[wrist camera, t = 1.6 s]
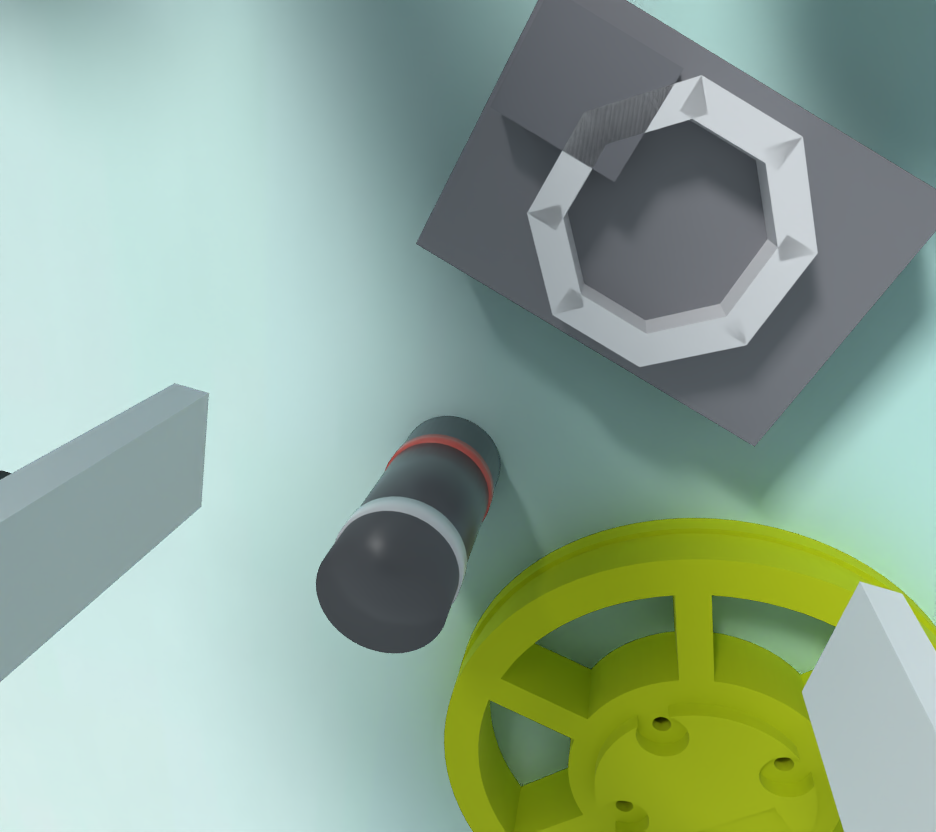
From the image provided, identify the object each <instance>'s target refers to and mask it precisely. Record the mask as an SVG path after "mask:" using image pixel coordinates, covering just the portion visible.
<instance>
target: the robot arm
mask: <svg viewBox="0 0 936 832" xmlns="http://www.w3.org/2000/svg"><path fill="white" fill-rule="evenodd" d="M208 397H209V393H206V392H203V391H199V390H196V389H192V388H189V387H186V386H182V385H179V384H175V383H174V384H173V385H171V386H169V387H167V388H165V389H164V390H162V391H160V392H158V393H156V394H155V395H153V396H151V397H149V398H147V399H146V400H144V401H142V402H140V403H138V404H136V405H135V406H133V407H131V408H129V409H127V410H126V411H124V412H122V413H120V414H118V415H117V416H115V417H113V418H111V419H109V420H108V421H106V422H104V423H102V424H100V425H98V426H97V427H95V428H93V429H91V430H89V431H88V432H86V433H84V434H82V435H80V436H79V437H77V438H75V439H73V440H71V441H70V442H68V443H66V444H64V445H62V446H61V447H59V448H57V449H55V450H53V451H51V452H50V453H48V454H46V455H44V456H42V457H41V458H39V459H37V460H35V461H33V462H32V463H30V464H28V465H26V466H24V467H23V468H21V469H19V470H17V471H15V472H13V473H8V472H5V471H0V682H1V681H2V680H3V679H4V678H5V677H6V676H8V675H9V674H10V673H11V672H12V671H13V670H14V669H16V668H17V667H18V666H19V665H20V664H21V663H23V662H24V661H25V660H26V659H27V658H28V657H29V656H31V655H32V654H33V653H34V652H35V651H36V650H37V649H39V648H40V647H41V646H42V645H43V644H44V643H45V642H47V641H48V640H49V639H50V638H51V637H52V636H53V635H55V634H56V633H57V632H58V631H59V630H60V629H61V628H63V627H64V626H65V625H66V624H67V623H68V622H69V621H71V620H72V619H73V618H74V617H75V616H76V615H78V614H79V613H80V612H81V611H82V610H83V609H84V608H86V607H87V606H88V605H89V604H90V603H91V602H92V601H94V600H95V599H96V598H97V597H98V596H99V595H100V594H102V593H103V592H104V591H105V590H106V589H107V588H108V587H110V586H111V585H112V584H113V583H114V582H115V581H116V580H118V579H119V578H120V577H121V576H122V575H123V574H124V573H126V572H127V571H128V570H129V569H130V568H131V567H133V566H134V565H135V564H136V563H137V562H138V561H139V560H141V559H142V558H143V557H144V556H145V555H146V554H147V553H149V552H150V551H151V550H152V549H153V548H154V547H155V546H157V545H158V544H159V543H160V542H161V541H162V540H163V539H165V538H166V537H167V536H168V535H169V534H170V533H171V532H173V531H174V530H175V529H176V528H177V527H178V526H179V525H181V524H182V523H183V522H184V521H185V520H186V519H188V518H189V517H190V516H191V515H192V514H193V513H194V512H196V511H197V510H198V509H199V508H200V507H201V502H202V487H203V472H204V457H205V442H206V427H207V412H208ZM802 694H803V698H804V701H805V704H806V708H807V711H808V714H809V718H810V721H811V724H812V727H813V731H814V734H815V737H816V741H817V744H818V747H819V751H820V754H821V757H822V761H823V764H824V767H825V770H826V774H827V777H828V780H829V784H830V787H831V790H832V794H833V797H834V800H835V804H836V807H837V810H838V813H839V817H840V820H841V823H842V827H843V830H844V832H936V651H935V649H934V647H933V646H932V644H931V642H930V640H929V639H928V637H927V635H926V634H925V632H924V630H923V628H922V627H921V625H920V623H919V622H918V620H917V618H916V616H915V615H914V613H913V611H912V610H911V608H910V606H909V604H908V603H907V601H906V599H905V598H904V596H903V594H902V593H898V592H895V591H891V590H888V589H884V588H881V587H877V586H874V585H870V584H867V583H864V582H859V584H858V586H857V588H856V590H855V591H854V593H853V595H852V597H851V599H850V601H849V603H848V605H847V607H846V609H845V610H844V612H843V614H842V616H841V618H840V620H839V622H838V624H837V626H836V628H835V630H834V631H833V633H832V635H831V637H830V639H829V641H828V643H827V645H826V647H825V649H824V650H823V652H822V654H821V656H820V658H819V660H818V662H817V664H816V666H815V668H814V669H813V671H812V673H811V675H810V677H809V679H808V681H807V683H806V685H805V687H804V689H803V690H802Z"/></svg>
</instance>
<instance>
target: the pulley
mask: <svg viewBox="0 0 936 832" xmlns="http://www.w3.org/2000/svg"><path fill="white" fill-rule="evenodd" d="M859 582H864V583H867V584H870V585H874V586H877V587H881V588H884V589H888V590H891V591H895V592H898V593H902V594H903V596H904V598H905V599H906V601H907V603H908V604H909V606H910V608H911V610H912V611H913V613H914V615H915V616H916V618H917V620H918V622H919V623H920V625H921V627H922V628H923V630H924V632H925V634H926V635H927V637H928V639H929V640H930V642H931V644H932V646H933V647H934V649H935V651H936V626H935V625H934V624H933V623H932V621H931V620H930V619H929V618H928V616H927V615H926V614H925V613H924V612H923V611H922V610H921V609H920V608H919V607H918V606H917V604H916V603H915V602H914V601H913V600H912V599H910V598H909V597H908V596H907V595H906V594H905V593H904V592H903V591H902V590H900V589H899V588H898V587H897V586H896V585H894V584H893V583H892V582H890V581H889V580H888V579H887V578H885V577H884V576H882V575H881V574H879V573H878V572H876V571H875V570H873V569H872V568H870V567H869V566H867V565H866V564H864V563H862V562H860V561H859V560H857V559H855V558H853V557H852V556H850V555H848V554H846V553H843V552H841V551H839V550H837V549H835V548H833V547H831V546H828V545H826V544H824V543H821V542H819V541H816V540H814V539H811V538H808V537H805V536H802V535H799V534H796V533H793V532H789V531H785V530H782V529H778V528H774V527H769V526H765V525H760V524H755V523H749V522H742V521H735V520H724V519H710V518H675V519H663V520H653V521H647V522H640V523H634V524H629V525H624V526H620V527H616V528H612V529H608V530H605V531H601V532H598V533H595V534H592V535H589V536H587V537H584V538H581V539H579V540H577V541H574V542H572V543H569V544H567V545H565V546H563V547H561V548H559V549H557V550H555V551H553V552H551V553H550V554H548V555H546V556H545V557H543V558H541V559H540V560H538V561H537V562H535V563H534V564H532V565H531V566H529V567H528V568H527V569H525V570H524V571H523V572H522V573H520V574H519V575H518V576H517V577H515V578H514V579H513V580H512V581H511V582H510V583H509V584H508V585H507V586H506V587H505V588H504V589H503V590H502V591H501V592H500V593H499V594H498V595H497V596H496V598H495V599H494V600H493V601H492V602H491V604H490V605H489V606H488V608H487V609H486V610H485V612H484V613H483V615H482V617H481V618H480V620H479V621H478V623H477V625H476V627H475V629H474V631H473V633H472V635H471V637H470V640H469V642H468V645H467V647H466V651H465V654H464V657H463V660H462V664H461V667H460V670H459V674H458V677H457V680H456V683H455V686H454V690H453V693H452V696H451V699H450V703H449V706H448V711H447V716H446V722H445V731H444V748H445V760H446V766H447V772H448V776H449V780H450V784H451V787H452V790H453V793H454V796H455V798H456V800H457V803H458V805H459V808H460V810H461V812H462V814H463V815H464V817H465V819H466V821H467V823H468V824H469V826H470V828H471V829H472V831H473V832H844V830H843V827H842V823H841V820H840V817H839V813H838V810H837V807H836V804H835V800H834V797H833V794H832V790H831V787H830V784H829V780H828V777H827V774H826V770H825V767H824V764H823V761H822V757H821V754H820V751H819V747H818V744H817V741H816V737H815V734H814V731H813V727H812V724H811V721H810V718H809V714H808V711H807V708H806V704H805V701H804V698H803V694H802V690H803V689H804V687H805V685H806V683H807V681H808V679H809V677H810V675H811V673H812V671H813V670H811V671H809V672H806V673H804V674H801V675H800V674H799V673H798V672H797V671H796V670H795V669H794V668H793V667H792V666H790V665H789V664H788V663H787V662H785V661H784V660H783V659H781V658H780V657H778V656H777V655H775V654H773V653H772V652H770V651H768V650H766V649H764V648H762V647H760V646H758V645H756V644H753V643H751V642H748V641H745V640H743V639H739V638H736V637H732V636H728V635H724V634H719V633H713V619H712V595H713V596H725V597H734V598H742V599H749V600H754V601H759V602H764V603H769V604H773V605H777V606H780V607H784V608H788V609H791V610H794V611H797V612H800V613H804V614H806V615H809V616H811V617H814V618H817V619H819V620H822V621H824V622H826V623H828V624H831V625H833V626H835V627H836V626H837V624H838V622H839V620H840V618H841V616H842V614H843V612H844V610H845V609H846V607H847V605H848V603H849V601H850V599H851V597H852V595H853V593H854V591H855V590H856V588H857V586H858V584H859ZM661 596H673V609H674V628H675V631H673V632H665V633H659V634H654V635H650V636H646V637H643V638H640V639H637V640H634V641H631V642H629V643H627V644H625V645H623V646H621V647H619V648H617V649H615V650H614V651H612V652H611V653H609V654H608V655H606V656H605V657H604V658H603V659H601V660H600V661H599V662H598V663H597V664H596V665H595V666H594V667H593V668H592V669H589V668H587V667H585V666H583V665H580V664H578V663H576V662H574V661H572V660H570V659H568V658H565V657H563V656H561V655H559V654H557V653H555V652H552V651H550V650H548V649H546V648H544V647H542V646H540V645H537V644H535V643H536V642H537V641H538V640H540V639H541V638H542V637H544V636H545V635H547V634H548V633H550V632H552V631H553V630H555V629H557V628H558V627H560V626H562V625H564V624H566V623H568V622H570V621H572V620H574V619H576V618H578V617H581V616H583V615H586V614H588V613H590V612H593V611H596V610H599V609H602V608H605V607H609V606H612V605H616V604H620V603H624V602H629V601H634V600H639V599H645V598H652V597H661ZM490 701H492V702H495V703H497V704H499V705H501V706H503V707H505V708H507V709H509V710H512V711H514V712H516V713H518V714H520V715H522V716H524V717H527V718H529V719H531V720H533V721H535V722H537V723H539V724H542V725H544V726H546V727H548V728H550V729H552V730H554V731H557V732H559V733H561V734H563V735H565V736H567V737H569V738H571V741H570V751H569V762H568V768H566V769H564V770H561V771H559V772H556V773H554V774H551V775H549V776H546V777H544V778H541V779H539V780H536V781H534V782H531V783H529V784H526V785H524V786H520V784H519V783H518V782H517V780H516V779H515V777H514V776H513V774H512V773H511V771H510V769H509V768H508V766H507V764H506V762H505V760H504V758H503V756H502V754H501V751H500V749H499V746H498V743H497V740H496V737H495V734H494V730H493V725H492V719H491V710H490Z"/></svg>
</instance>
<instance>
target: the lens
mask: <svg viewBox="0 0 936 832" xmlns="http://www.w3.org/2000/svg"><path fill="white" fill-rule="evenodd" d="M499 473H500V458H499V453H498V450H497V448H496V446H495V444H494V442H493V440H492V439H491V438H490V436H489V435H488V434H487V433H486V432H485V431H484V430H483V429H482V428H481V427H479V426H478V425H476V424H475V423H473V422H471V421H469V420H466V419H463V418H459V417H454V416H441V417H435V418H432V419H429V420H427V421H425V422H423V423H422V424H420V425H419V426H418V427H417V428H416V429H415V430H414V431H413V432H412V433H411V435H410V436H409V438H408V439H407V441H406V442H405V443H404V444H403V445H402V446H401V447H400V448H399V449H398V450H397V451H396V453H395V454H394V456H393V457H392V458H391V460H390V461H389V463H388V465H387V467H386V469H385V472H384V473H383V475H382V476H381V478H380V479H379V481H378V482H377V483H376V485H375V486H374V488H373V489H372V491H371V492H370V494H369V495H368V496H367V498H366V499H365V501H364V502H363V504H362V505H361V506H360V507H359V508H358V509H357V510H356V511H355V512H354V513H353V514H352V515H351V516H350V518H349V519H348V521H347V522H346V524H345V525H344V526H343V528H342V529H341V531H340V532H339V534H338V536H337V538H336V541H335V544H334V545H333V546H332V548H331V549H330V551H329V552H328V554H327V555H326V557H325V558H324V560H323V561H322V563H321V565H320V567H319V569H318V573H317V579H316V591H317V596H318V600H319V603H320V605H321V607H322V610H323V612H324V613H325V615H326V616H327V618H328V619H329V621H330V622H331V623H332V624H333V626H334V627H335V628H336V629H337V630H338V631H339V632H341V633H342V634H343V635H344V636H346V637H347V638H349V639H350V640H352V641H353V642H355V643H357V644H359V645H361V646H363V647H366V648H368V649H371V650H375V651H379V652H384V653H404V652H410V651H413V650H417V649H419V648H421V647H424V646H425V645H427V644H428V643H430V642H431V641H432V640H433V639H435V638H436V636H437V635H438V634H439V633H440V631H441V630H442V628H443V626H444V624H445V621H446V618H447V616H448V613H449V610H450V608H451V605H452V603H453V602H454V601H455V599H456V597H457V596H458V593H459V590H460V588H461V585H462V582H463V579H464V577H465V573H466V568H467V561H468V559H469V556H470V553H471V550H472V548H473V545H474V542H475V540H476V537H477V534H478V531H479V529H480V526H481V523H482V522H483V520H484V519H485V517H486V515H487V513H488V510H489V507H490V505H491V502H492V498H493V491H494V488H495V485H496V482H497V480H498V477H499Z"/></svg>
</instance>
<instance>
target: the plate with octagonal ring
mask: <svg viewBox="0 0 936 832" xmlns="http://www.w3.org/2000/svg"><path fill="white" fill-rule="evenodd" d="M935 231H936V189H935V188H933V187H932V186H930V185H928V184H927V183H925V182H924V181H922V180H920V179H919V178H917V177H915V176H914V175H912V174H910V173H909V172H907V171H905V170H904V169H902V168H901V167H899V166H897V165H896V164H894V163H892V162H891V161H889V160H887V159H886V158H884V157H882V156H881V155H879V154H878V153H876V152H874V151H873V150H871V149H869V148H868V147H866V146H864V145H863V144H861V143H860V142H858V141H856V140H855V139H853V138H851V137H850V136H848V135H846V134H845V133H843V132H841V131H840V130H838V129H837V128H835V127H833V126H832V125H830V124H828V123H827V122H825V121H823V120H822V119H820V118H818V117H817V116H815V115H814V114H812V113H810V112H809V111H807V110H805V109H804V108H802V107H800V106H799V105H797V104H796V103H794V102H792V101H791V100H789V99H787V98H786V97H784V96H782V95H781V94H779V93H777V92H776V91H774V90H773V89H771V88H769V87H768V86H766V85H764V84H763V83H761V82H759V81H758V80H756V79H754V78H753V77H751V76H750V75H748V74H746V73H745V72H743V71H741V70H740V69H738V68H736V67H735V66H733V65H732V64H730V63H728V62H727V61H725V60H723V59H722V58H720V57H718V56H717V55H715V54H713V53H712V52H710V51H709V50H707V49H705V48H704V47H702V46H700V45H699V44H697V43H695V42H694V41H692V40H691V39H689V38H687V37H686V36H684V35H682V34H681V33H679V32H677V31H676V30H674V29H672V28H671V27H669V26H668V25H666V24H664V23H663V22H661V21H659V20H658V19H656V18H654V17H653V16H651V15H649V14H648V13H646V12H645V11H643V10H641V9H640V8H638V7H636V6H635V5H633V4H631V3H630V2H628V1H627V0H538V2H537V4H536V6H535V8H534V10H533V12H532V14H531V16H530V18H529V20H528V22H527V24H526V26H525V28H524V30H523V31H522V33H521V35H520V37H519V39H518V41H517V43H516V45H515V47H514V49H513V51H512V53H511V55H510V57H509V59H508V61H507V63H506V65H505V67H504V69H503V71H502V73H501V75H500V77H499V79H498V81H497V83H496V85H495V87H494V89H493V91H492V93H491V95H490V97H489V99H488V101H487V103H486V105H485V107H484V109H483V111H482V113H481V115H480V117H479V119H478V121H477V123H476V125H475V127H474V129H473V131H472V133H471V135H470V137H469V139H468V141H467V143H466V145H465V147H464V149H463V151H462V153H461V155H460V157H459V159H458V161H457V163H456V165H455V167H454V169H453V171H452V173H451V175H450V177H449V179H448V181H447V183H446V185H445V187H444V189H443V191H442V193H441V195H440V197H439V199H438V201H437V203H436V205H435V207H434V209H433V211H432V213H431V215H430V217H429V219H428V221H427V223H426V225H425V227H424V229H423V231H422V233H421V235H420V237H419V239H418V241H417V243H416V244H417V245H419V246H421V247H422V248H424V249H426V250H427V251H429V252H431V253H432V254H434V255H436V256H437V257H439V258H441V259H442V260H444V261H446V262H447V263H449V264H451V265H452V266H454V267H456V268H457V269H459V270H461V271H462V272H464V273H466V274H467V275H469V276H471V277H472V278H474V279H476V280H477V281H479V282H481V283H482V284H484V285H486V286H487V287H489V288H491V289H492V290H494V291H496V292H497V293H499V294H501V295H502V296H504V297H506V298H507V299H509V300H511V301H512V302H514V303H516V304H517V305H519V306H521V307H522V308H524V309H526V310H527V311H529V312H531V313H532V314H534V315H536V316H537V317H539V318H541V319H542V320H544V321H546V322H547V323H549V324H551V325H552V326H554V327H556V328H557V329H559V330H561V331H562V332H564V333H566V334H567V335H569V336H571V337H572V338H574V339H576V340H577V341H579V342H581V343H582V344H584V345H586V346H587V347H589V348H591V349H592V350H594V351H596V352H597V353H599V354H601V355H602V356H604V357H606V358H607V359H609V360H611V361H612V362H614V363H616V364H617V365H619V366H621V367H622V368H624V369H626V370H627V371H629V372H631V373H633V374H634V375H636V376H638V377H639V378H641V379H643V380H644V381H646V382H648V383H649V384H651V385H653V386H654V387H656V388H658V389H659V390H661V391H663V392H664V393H666V394H668V395H669V396H671V397H673V398H674V399H676V400H678V401H679V402H681V403H683V404H684V405H686V406H688V407H689V408H691V409H693V410H694V411H696V412H698V413H699V414H701V415H703V416H704V417H706V418H708V419H709V420H711V421H713V422H714V423H716V424H718V425H719V426H721V427H723V428H724V429H726V430H728V431H729V432H731V433H733V434H734V435H736V436H738V437H739V438H741V439H743V440H744V441H746V442H748V443H749V444H751V445H753V446H754V447H755V445H756V444H757V443H758V442H759V441H760V439H761V438H762V437H763V436H764V435H765V433H766V432H767V431H768V430H769V429H770V427H771V426H772V425H773V424H774V423H775V422H776V420H777V419H778V418H779V417H780V416H781V414H782V413H783V412H784V411H785V410H786V408H787V407H788V406H789V405H790V404H791V403H792V401H793V400H794V399H795V398H796V397H797V395H798V394H799V393H800V392H801V391H802V389H803V388H804V387H805V386H806V385H807V383H808V382H809V381H810V380H811V379H812V378H813V376H814V375H815V374H816V373H817V372H818V370H819V369H820V368H821V367H822V366H823V364H824V363H825V362H826V361H827V360H828V359H829V357H830V356H831V355H832V354H833V353H834V351H835V350H836V349H837V348H838V347H839V345H840V344H841V343H842V342H843V341H844V339H845V338H846V337H847V336H848V335H849V334H850V332H851V331H852V330H853V329H854V328H855V326H856V325H857V324H858V323H859V322H860V320H861V319H862V318H863V317H864V316H865V315H866V313H867V312H868V311H869V310H870V309H871V307H872V306H873V305H874V304H875V303H876V301H877V300H878V299H879V298H880V297H881V295H882V294H883V293H884V292H885V291H886V290H887V288H888V287H889V286H890V285H891V284H892V282H893V281H894V280H895V279H896V278H897V276H898V275H899V274H900V273H901V272H902V271H903V269H904V268H905V267H906V266H907V265H908V263H909V262H910V261H911V260H912V259H913V257H914V256H915V255H916V254H917V253H918V251H919V250H920V249H921V248H922V247H923V246H924V244H925V243H926V242H927V241H928V240H929V238H930V237H931V236H932V235H933V234H934V232H935Z"/></svg>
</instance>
